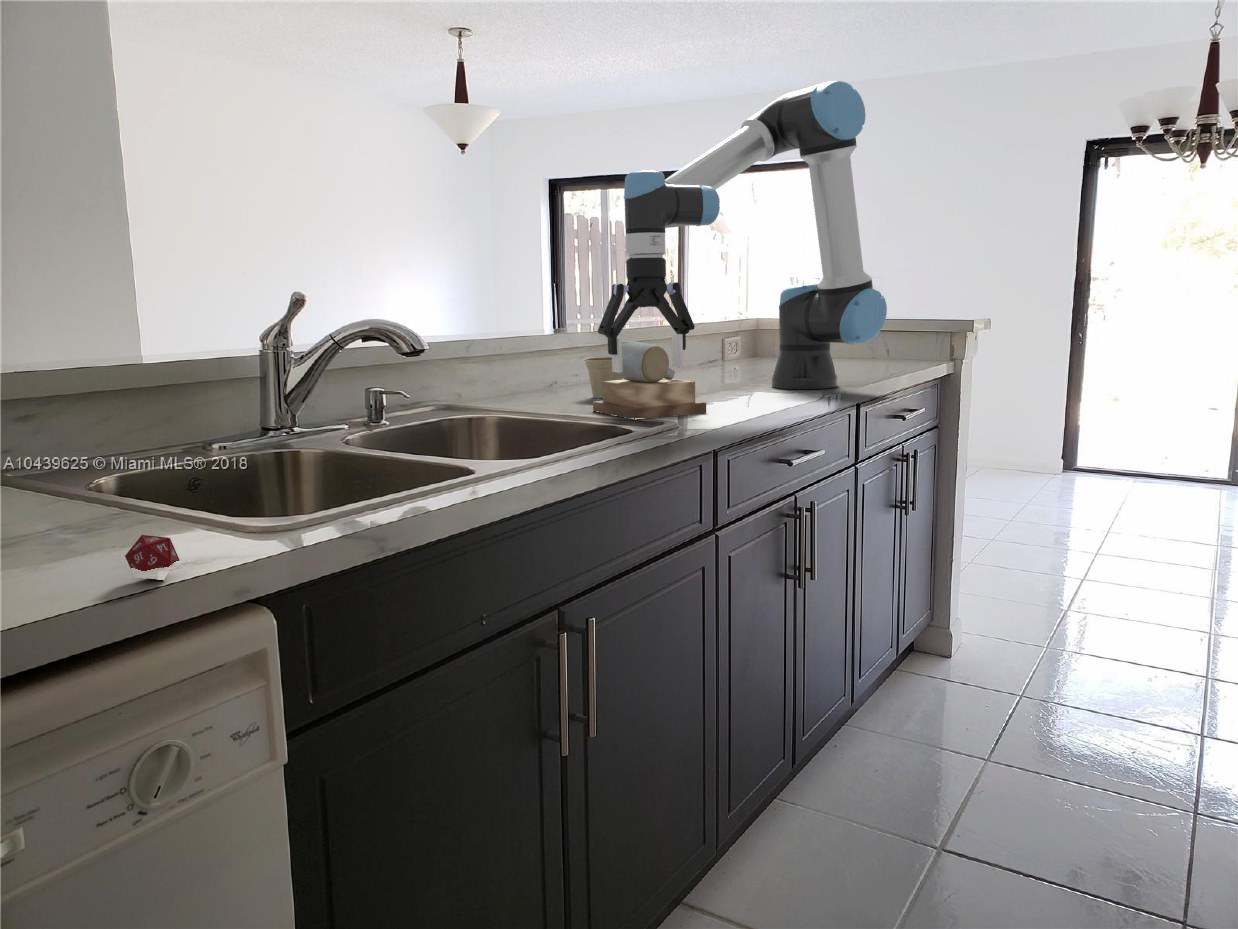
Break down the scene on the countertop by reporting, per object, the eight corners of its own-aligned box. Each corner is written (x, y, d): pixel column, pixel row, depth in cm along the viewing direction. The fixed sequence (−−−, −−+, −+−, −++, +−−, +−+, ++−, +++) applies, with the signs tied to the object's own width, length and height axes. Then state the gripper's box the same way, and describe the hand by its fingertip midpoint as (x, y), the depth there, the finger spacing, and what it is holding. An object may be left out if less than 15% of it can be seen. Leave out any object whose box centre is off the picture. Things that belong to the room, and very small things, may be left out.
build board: (661, 404, 193) (661, 395, 193) (706, 412, 179) (706, 402, 179) (593, 411, 185) (592, 401, 185) (634, 420, 172) (634, 409, 171)
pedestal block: (659, 396, 191) (658, 376, 190) (695, 402, 180) (695, 381, 179) (603, 401, 184) (602, 381, 184) (637, 408, 173) (636, 386, 173)
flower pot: (578, 399, 207) (577, 359, 205) (595, 394, 215) (594, 356, 214) (617, 400, 203) (616, 360, 202) (633, 395, 212) (632, 356, 210)
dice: (154, 589, 79) (149, 543, 79) (118, 583, 81) (112, 539, 80) (191, 576, 83) (186, 532, 82) (155, 571, 85) (150, 528, 84)
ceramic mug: (643, 384, 175) (643, 343, 173) (615, 381, 181) (615, 341, 180) (684, 380, 181) (684, 340, 180) (656, 378, 188) (655, 339, 186)
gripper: (597, 256, 168) (600, 375, 172) (711, 255, 180) (712, 366, 184) (577, 258, 174) (581, 372, 178) (689, 257, 186) (690, 364, 190)
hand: (648, 369), depth 181 cm, fingers open, 13 cm apart
